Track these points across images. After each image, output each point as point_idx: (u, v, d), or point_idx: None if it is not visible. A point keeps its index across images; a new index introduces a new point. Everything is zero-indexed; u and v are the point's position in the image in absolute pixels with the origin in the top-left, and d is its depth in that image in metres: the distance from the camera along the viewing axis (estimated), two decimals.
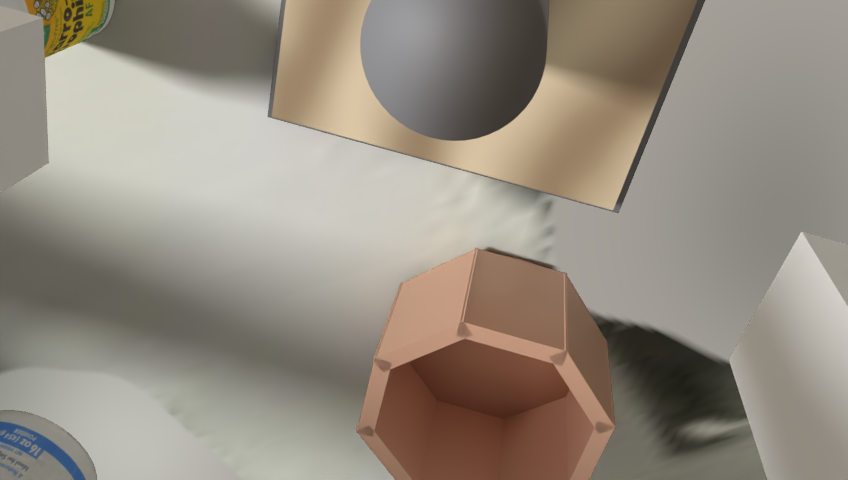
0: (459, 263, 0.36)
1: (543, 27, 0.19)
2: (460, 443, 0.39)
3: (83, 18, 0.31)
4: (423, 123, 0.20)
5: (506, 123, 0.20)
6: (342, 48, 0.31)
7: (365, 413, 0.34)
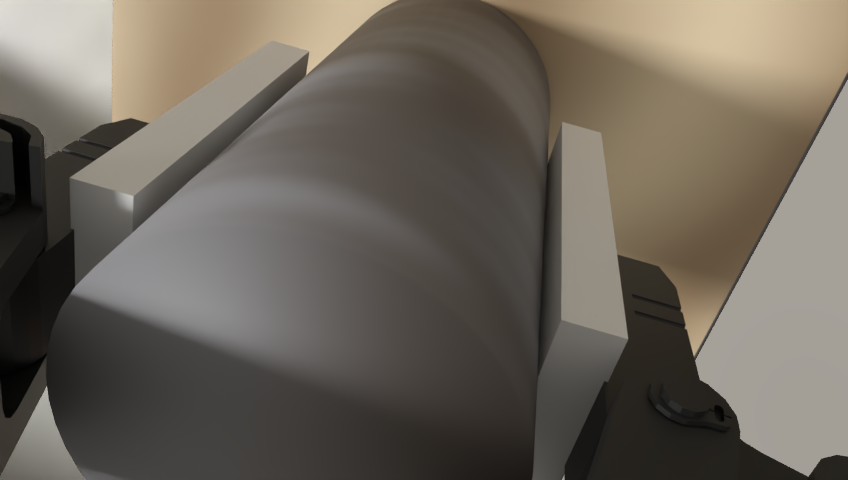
0: None
1: (523, 420, 0.07)
2: None
3: None
4: None
5: None
6: None
7: None
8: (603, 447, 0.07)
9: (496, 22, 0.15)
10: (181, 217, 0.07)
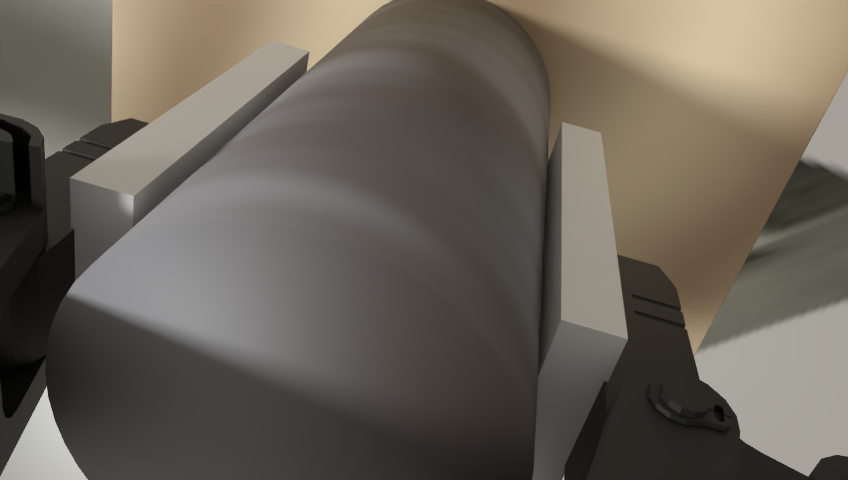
0: None
1: (524, 416, 0.07)
2: None
3: None
4: None
5: None
6: None
7: None
8: (603, 447, 0.07)
9: (496, 19, 0.15)
10: (181, 212, 0.07)
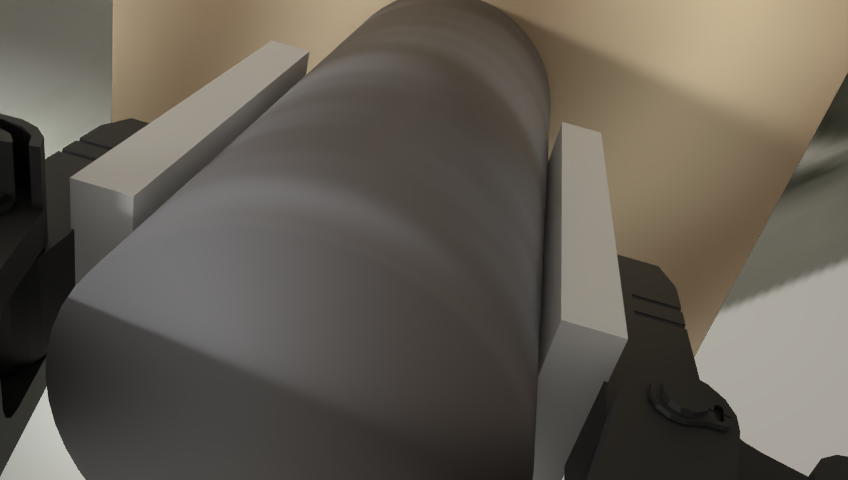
0: None
1: (524, 420, 0.07)
2: None
3: None
4: None
5: None
6: None
7: None
8: (603, 447, 0.07)
9: (496, 22, 0.15)
10: (181, 217, 0.07)
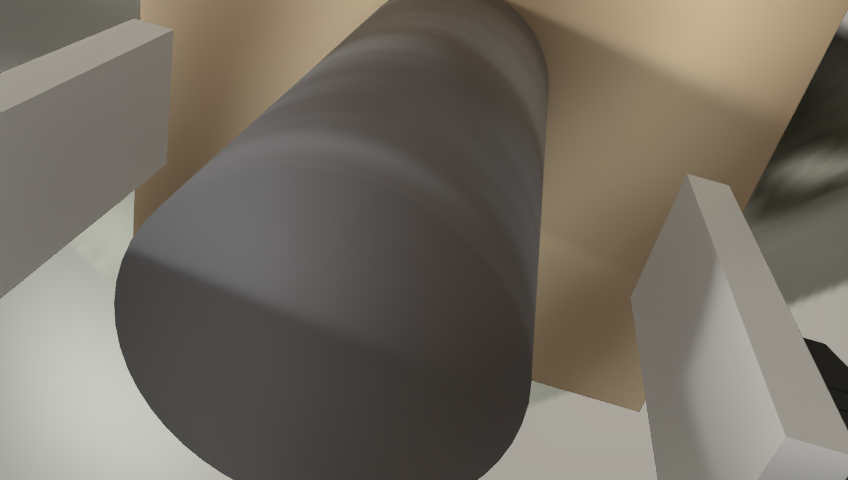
0: None
1: (523, 333, 0.08)
2: None
3: None
4: (270, 478, 0.10)
5: None
6: None
7: None
8: None
9: (498, 10, 0.16)
10: (234, 162, 0.08)
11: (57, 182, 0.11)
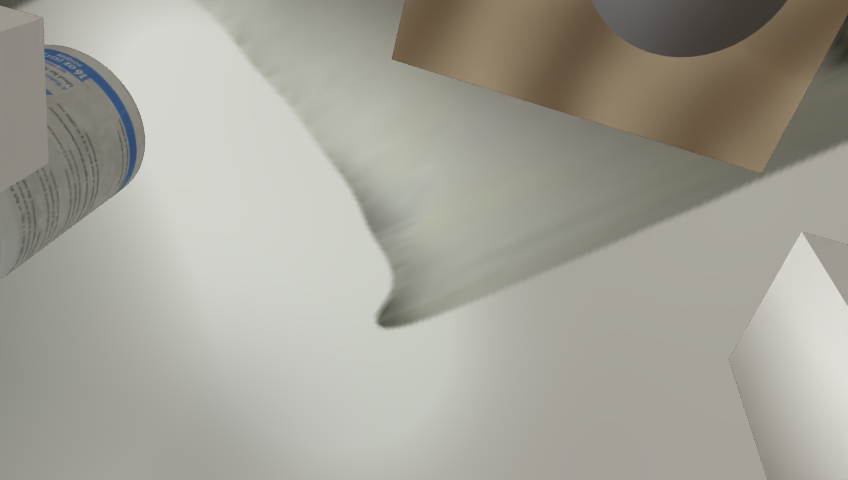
0: None
1: None
2: None
3: None
4: (644, 35, 0.18)
5: (745, 37, 0.17)
6: None
7: None
8: None
9: None
10: None
11: None
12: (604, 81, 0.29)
